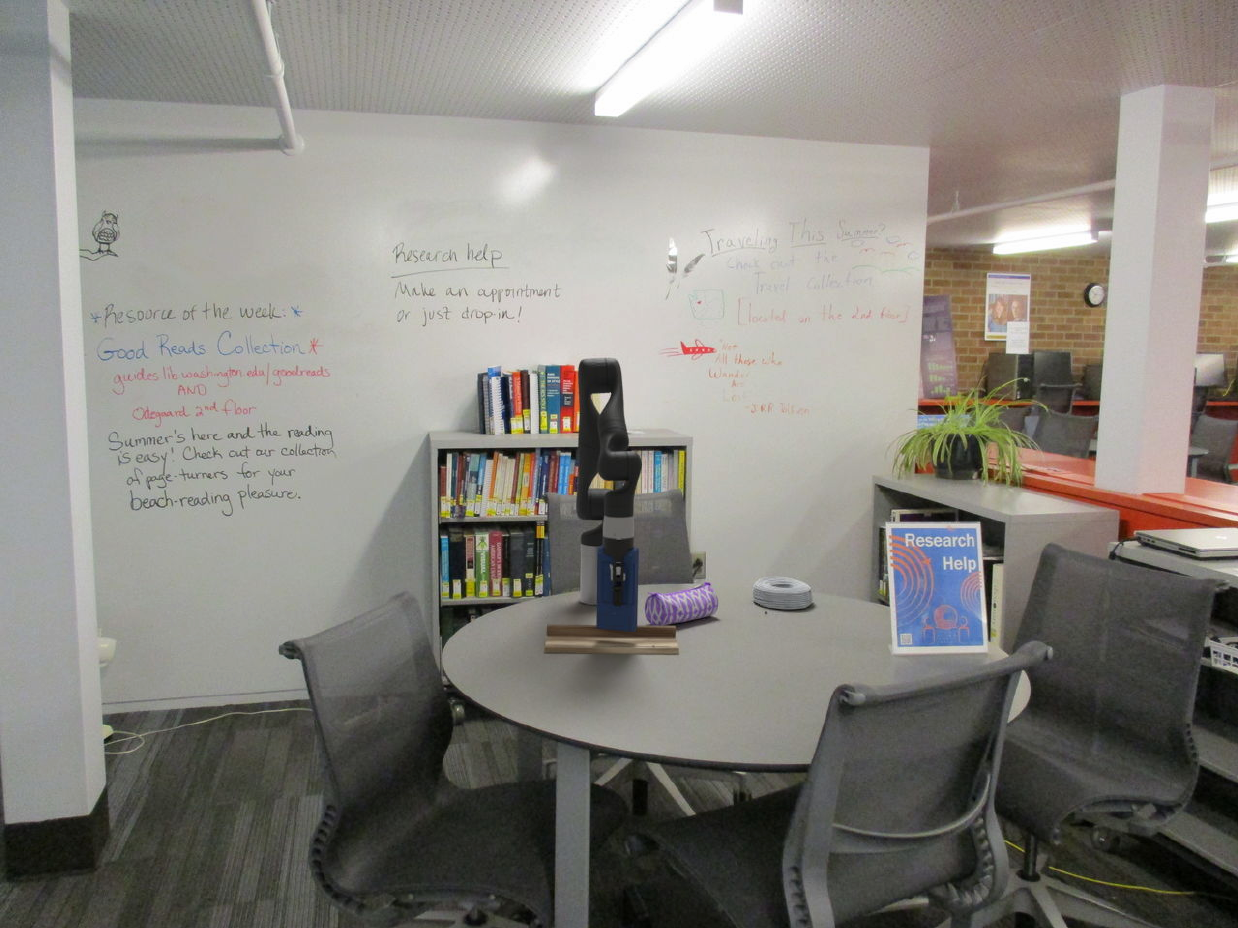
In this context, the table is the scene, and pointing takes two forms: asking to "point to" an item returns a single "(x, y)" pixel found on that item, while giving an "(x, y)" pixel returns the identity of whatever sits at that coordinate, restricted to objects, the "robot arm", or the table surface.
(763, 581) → the cable
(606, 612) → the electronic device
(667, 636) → the guide board
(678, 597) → the pencil case
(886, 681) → the table surface
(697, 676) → the table surface
